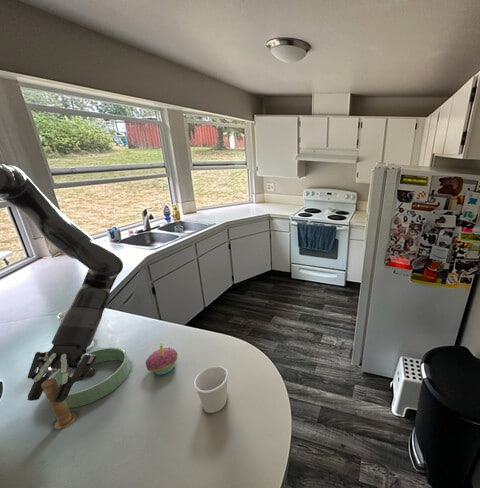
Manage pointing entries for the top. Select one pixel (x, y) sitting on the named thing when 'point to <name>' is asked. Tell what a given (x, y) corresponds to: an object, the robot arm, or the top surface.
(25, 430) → the top surface
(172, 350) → the cupcake
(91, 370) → the walnut bead
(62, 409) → the wooden cylinder
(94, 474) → the top surface
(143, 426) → the top surface
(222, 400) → the dixie cup
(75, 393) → the oval ring
